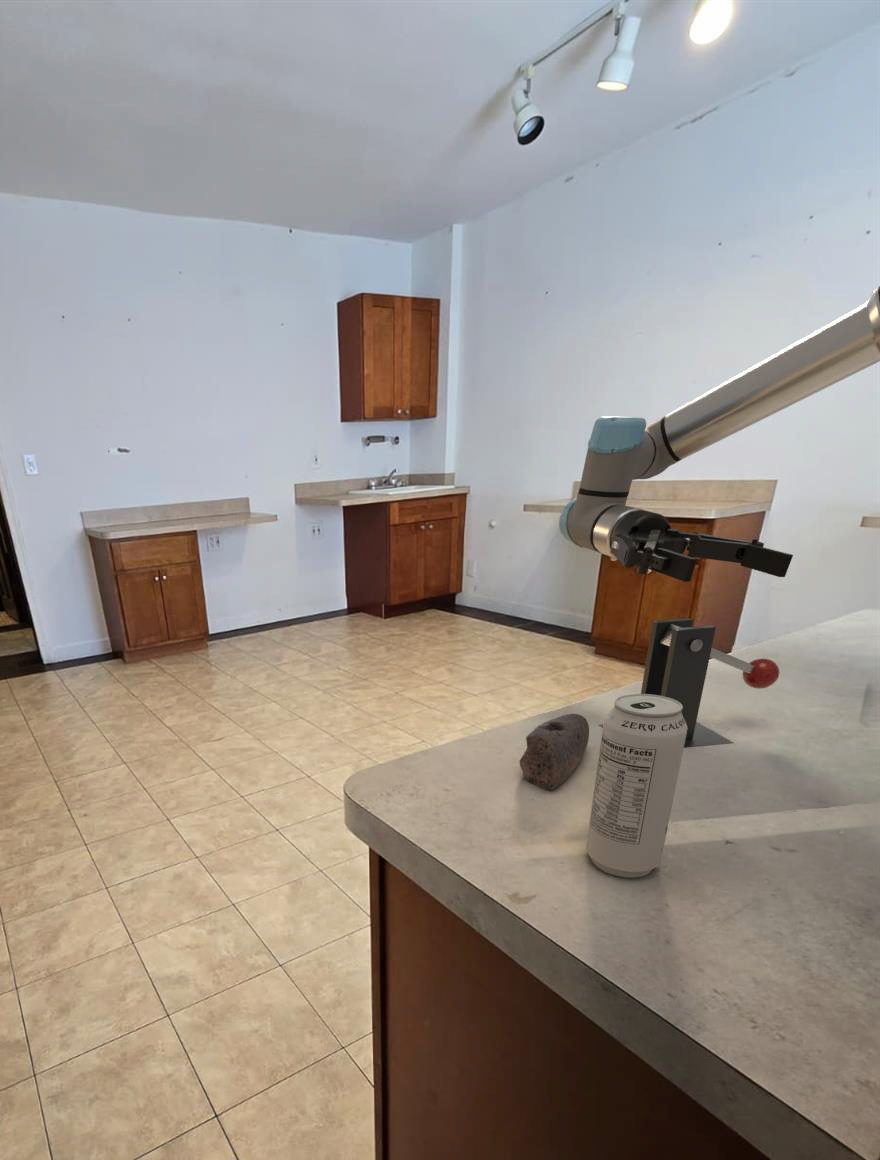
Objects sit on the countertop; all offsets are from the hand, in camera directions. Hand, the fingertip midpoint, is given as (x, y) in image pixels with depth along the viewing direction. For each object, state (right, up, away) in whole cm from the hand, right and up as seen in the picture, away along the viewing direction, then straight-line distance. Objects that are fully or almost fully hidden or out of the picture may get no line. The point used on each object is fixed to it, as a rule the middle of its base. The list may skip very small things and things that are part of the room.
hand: (739, 568), depth 78 cm
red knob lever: (-5, -13, -3) cm, 14 cm away
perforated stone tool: (-25, -26, -5) cm, 36 cm away
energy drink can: (-25, -33, -21) cm, 47 cm away
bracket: (-9, -21, +1) cm, 23 cm away
